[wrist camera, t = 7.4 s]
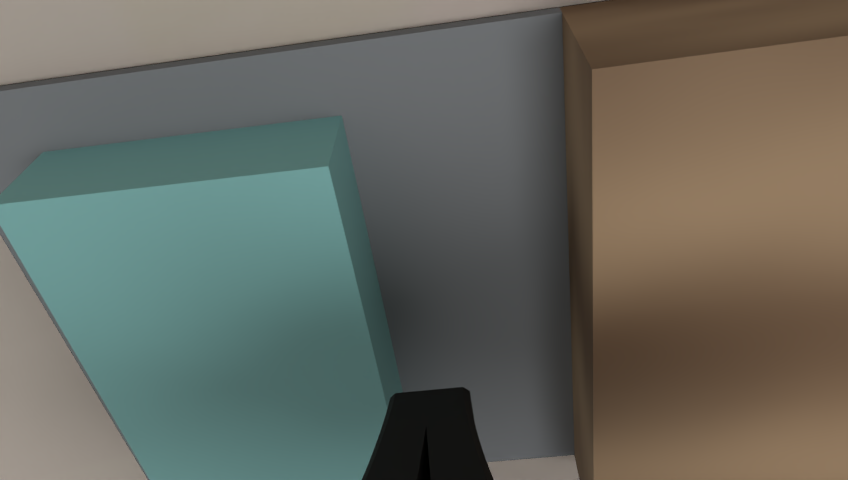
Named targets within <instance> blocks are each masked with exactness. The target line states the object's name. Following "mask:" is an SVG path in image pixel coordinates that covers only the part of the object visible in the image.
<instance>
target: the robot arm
mask: <svg viewBox="0 0 848 480" xmlns="http://www.w3.org/2000/svg"><path fill="white" fill-rule="evenodd" d="M362 480H493V477H492V475H491V472H490V470H489V467H488V464H487V461H486V459H485V456H484V453H483V450H482V446H481V443H480V440H479V437H478V433H477V430H476V426H475V421H474V415H473V408H472V401H471V395H470V391H469V390H467V389H466V388H464V387H456V388H445V389H434V390H424V391H413V392H402V393H395V394H394V395H393V396H392V397H391V398H390V401H389V405H388V408H387V412H386V415H385V419H384V422H383V425H382V428H381V431H380V434H379V437H378V440H377V442H376V445H375V448H374V450H373V453H372V456H371V458H370V461H369V463H368V466H367V468H366V471H365V473H364V475H363V478H362Z"/></svg>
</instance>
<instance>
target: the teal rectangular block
mask: <svg viewBox="0 0 848 480" xmlns="http://www.w3.org/2000/svg"><path fill="white" fill-rule="evenodd" d="M0 226H1V228H2V229H3V231H4V233H5V234H6V236H7V238H8V240H9V241H10V243H11V245H12V246H13V248H14V250H15V251H16V253H17V255H18V257H19V258H20V260H21V262H22V263H23V265H24V267H25V268H26V270H27V272H28V274H29V275H30V277H31V279H32V280H33V282H34V284H35V286H36V287H37V289H38V291H39V292H40V294H41V296H42V297H43V299H44V301H45V303H46V304H47V306H48V308H49V309H50V311H51V313H52V314H53V316H54V318H55V320H56V321H57V323H58V325H59V326H60V328H61V330H62V332H63V333H64V335H65V337H66V338H67V340H68V342H69V343H70V345H71V347H72V349H73V350H74V352H75V354H76V355H77V357H78V359H79V360H80V362H81V364H82V366H83V367H84V369H85V371H86V372H87V374H88V376H89V378H90V379H91V381H92V383H93V384H94V386H95V388H96V389H97V391H98V393H99V395H100V396H101V398H102V400H103V401H104V403H105V405H106V406H107V408H108V410H109V412H110V413H111V415H112V417H113V418H114V420H115V422H116V423H117V425H118V427H119V429H120V430H121V432H122V434H123V435H124V437H125V439H126V441H127V442H128V444H129V446H130V447H131V449H132V451H133V452H134V454H135V456H136V458H137V459H138V461H139V463H140V464H141V466H142V468H143V469H144V471H145V473H146V475H147V476H148V478H149V480H362V478H363V475H364V473H365V471H366V468H367V466H368V463H369V461H370V458H371V456H372V453H373V450H374V448H375V445H376V442H377V440H378V437H379V434H380V431H381V428H382V425H383V422H384V419H385V415H386V412H387V408H388V405H389V401H390V398H391V397H392V396H393V395H394V394H395V393H402V392H403V391H402V386H401V382H400V377H399V373H398V368H397V364H396V359H395V355H394V350H393V346H392V341H391V336H390V332H389V327H388V323H387V318H386V314H385V309H384V305H383V300H382V296H381V291H380V287H379V282H378V278H377V273H376V268H375V264H374V259H373V255H372V250H371V246H370V241H369V237H368V232H367V228H366V223H365V219H364V214H363V210H362V205H361V200H360V196H359V191H358V187H357V182H356V178H355V173H354V169H353V164H352V160H351V155H350V151H349V146H348V142H347V137H346V132H345V128H344V123H343V119H342V116H334V117H326V118H317V119H309V120H301V121H293V122H285V123H276V124H268V125H260V126H252V127H244V128H235V129H227V130H219V131H211V132H203V133H194V134H186V135H178V136H170V137H162V138H153V139H145V140H137V141H129V142H121V143H112V144H104V145H96V146H88V147H80V148H72V149H63V150H55V151H47V152H43V153H42V154H41V155H40V156H39V157H38V158H36V159H35V160H34V161H33V162H32V163H31V164H30V165H29V166H28V167H27V168H26V169H25V170H24V171H23V172H22V173H21V174H20V175H19V176H18V177H17V178H16V179H15V180H14V181H13V182H12V183H11V184H10V185H9V186H8V187H7V188H6V189H5V190H4V191H3V192H2V193H1V194H0Z"/></svg>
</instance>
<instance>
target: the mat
mask: <svg viewBox="0 0 848 480" xmlns="http://www.w3.org/2000/svg"><path fill="white" fill-rule="evenodd" d="M334 116H342V119H343V123H344V128H345V132H346V137H347V142H348V146H349V151H350V155H351V160H352V164H353V169H354V173H355V178H356V182H357V187H358V191H359V196H360V200H361V205H362V210H363V214H364V219H365V223H366V228H367V232H368V237H369V241H370V246H371V250H372V255H373V259H374V264H375V268H376V273H377V278H378V282H379V287H380V291H381V296H382V300H383V305H384V309H385V314H386V318H387V323H388V327H389V332H390V336H391V341H392V346H393V350H394V355H395V359H396V364H397V368H398V373H399V377H400V382H401V386H402V391H403V392H413V391H424V390H434V389H445V388H456V387H464V388H466V389H467V390H469V391H470V395H471V401H472V408H473V415H474V421H475V426H476V430H477V433H478V437H479V440H480V443H481V446H482V450H483V453H484V456H485V459H486V461H487V462H493V461H505V460H517V459H530V458H542V457H554V456H567V455H575V452H574V416H573V381H572V346H571V311H570V275H569V240H568V205H567V170H566V134H565V99H564V64H563V28H562V11H561V10H560V8H552V9H545V10H538V11H530V12H523V13H516V14H509V15H502V16H495V17H488V18H481V19H474V20H466V21H459V22H452V23H445V24H438V25H431V26H424V27H417V28H410V29H402V30H395V31H388V32H381V33H374V34H367V35H360V36H353V37H346V38H338V39H331V40H324V41H317V42H310V43H303V44H296V45H289V46H282V47H275V48H267V49H260V50H253V51H246V52H239V53H232V54H225V55H218V56H211V57H203V58H196V59H189V60H182V61H175V62H168V63H161V64H154V65H147V66H139V67H132V68H125V69H118V70H111V71H104V72H97V73H90V74H83V75H75V76H68V77H61V78H54V79H47V80H40V81H33V82H26V83H19V84H11V85H4V86H0V194H1V193H2V192H3V191H4V190H5V189H6V188H7V187H8V186H9V185H10V184H11V183H12V182H13V181H14V180H15V179H16V178H17V177H18V176H19V175H20V174H21V173H22V172H23V171H24V170H25V169H26V168H27V167H28V166H29V165H30V164H31V163H32V162H33V161H34V160H35V159H36V158H38V157H39V156H40V155H41V154H42V153H43V152H47V151H55V150H63V149H72V148H80V147H88V146H96V145H104V144H112V143H121V142H129V141H137V140H145V139H153V138H162V137H170V136H178V135H186V134H194V133H203V132H211V131H219V130H227V129H235V128H244V127H252V126H260V125H268V124H276V123H285V122H293V121H301V120H309V119H317V118H326V117H334ZM0 235H1V236H2V238H3V240H4V241H5V243H6V245H7V246H8V248H9V250H10V251H11V253H12V255H13V256H14V258H15V260H16V261H17V263H18V265H19V266H20V268H21V270H22V271H23V273H24V275H25V276H26V278H27V280H28V281H29V283H30V285H31V286H32V288H33V290H34V291H35V293H36V295H37V296H38V298H39V300H40V301H41V303H42V305H43V306H44V308H45V310H46V311H47V313H48V314H49V316H50V318H51V319H52V321H53V323H54V324H55V326H56V328H57V329H58V331H59V333H60V334H61V336H62V338H63V339H64V341H65V343H66V344H67V346H68V348H69V349H70V351H71V353H72V354H73V356H74V358H75V359H76V361H77V363H78V364H79V366H80V368H81V369H82V371H83V373H84V374H85V376H86V378H87V379H88V381H89V383H90V384H91V386H92V387H93V389H94V391H95V392H96V394H97V396H98V397H99V399H100V401H101V402H102V404H103V406H104V407H105V409H106V411H107V412H108V414H109V416H110V417H111V419H112V421H113V422H114V424H115V426H116V427H117V429H118V431H119V432H120V434H121V436H122V437H123V439H124V441H125V442H126V444H127V446H128V447H129V449H130V451H131V452H132V454H133V456H134V457H135V459H136V461H137V462H138V464H139V465H140V467H141V469H142V470H143V472H144V474H145V475H146V473H145V471H144V469H143V468H142V466H141V464H140V463H139V461H138V459H137V458H136V456H135V454H134V452H133V451H132V449H131V447H130V446H129V444H128V442H127V441H126V439H125V437H124V435H123V434H122V432H121V430H120V429H119V427H118V425H117V423H116V422H115V420H114V418H113V417H112V415H111V413H110V412H109V410H108V408H107V406H106V405H105V403H104V401H103V400H102V398H101V396H100V395H99V393H98V391H97V389H96V388H95V386H94V384H93V383H92V381H91V379H90V378H89V376H88V374H87V372H86V371H85V369H84V367H83V366H82V364H81V362H80V360H79V359H78V357H77V355H76V354H75V352H74V350H73V349H72V347H71V345H70V343H69V342H68V340H67V338H66V337H65V335H64V333H63V332H62V330H61V328H60V326H59V325H58V323H57V321H56V320H55V318H54V316H53V314H52V313H51V311H50V309H49V308H48V306H47V304H46V303H45V301H44V299H43V297H42V296H41V294H40V292H39V291H38V289H37V287H36V286H35V284H34V282H33V280H32V279H31V277H30V275H29V274H28V272H27V270H26V268H25V267H24V265H23V263H22V262H21V260H20V258H19V257H18V255H17V253H16V251H15V250H14V248H13V246H12V245H11V243H10V241H9V240H8V238H7V236H6V234H5V233H4V231H3V229H2V228H1V226H0ZM146 477H147V479H148V480H149V478H148V476H147V475H146Z"/></svg>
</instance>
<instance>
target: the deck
mask: <svg viewBox="0 0 848 480" xmlns="http://www.w3.org/2000/svg"><path fill="white" fill-rule="evenodd" d="M559 8H560V10H561V11H562V28H563V64H564V99H565V134H566V170H567V205H568V240H569V275H570V311H571V346H572V381H573V416H574V452H575V459H576V464H577V469H578V474H579V479H580V480H848V0H609V1H602V2H594V3H587V4H580V5H573V6H566V7H559Z"/></svg>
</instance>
